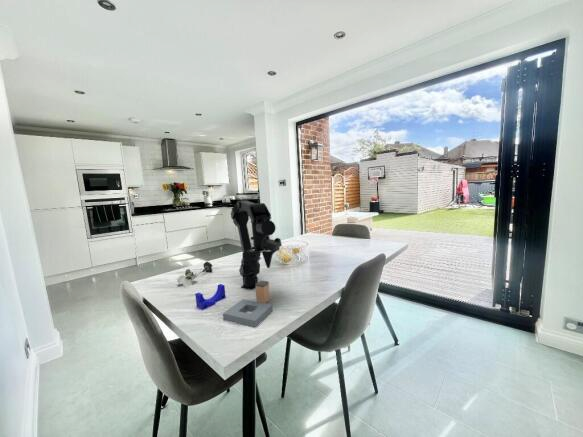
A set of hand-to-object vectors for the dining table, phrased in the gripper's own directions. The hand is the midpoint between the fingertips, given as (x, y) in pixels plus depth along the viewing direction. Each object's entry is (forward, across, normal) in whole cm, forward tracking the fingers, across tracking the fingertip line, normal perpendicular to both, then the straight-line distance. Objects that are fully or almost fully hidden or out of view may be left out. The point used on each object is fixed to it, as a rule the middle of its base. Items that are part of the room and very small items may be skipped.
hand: (263, 270), depth 100 cm
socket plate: (+14, -12, +1) cm, 18 cm away
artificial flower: (+10, +11, +49) cm, 51 cm away
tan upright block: (+13, 0, +2) cm, 13 cm away
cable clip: (+13, -8, +21) cm, 26 cm away
